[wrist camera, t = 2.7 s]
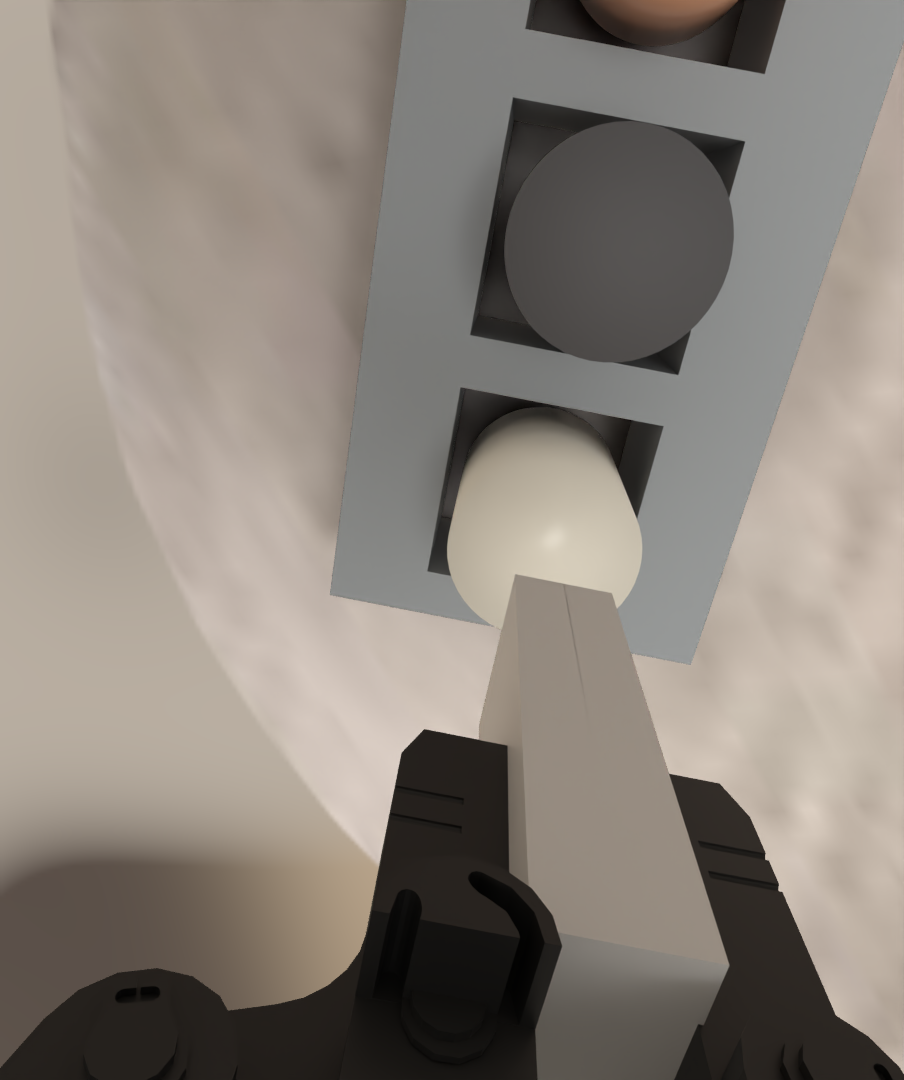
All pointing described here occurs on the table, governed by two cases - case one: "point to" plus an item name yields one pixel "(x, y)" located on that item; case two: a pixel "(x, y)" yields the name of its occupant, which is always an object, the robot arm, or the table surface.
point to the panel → (560, 378)
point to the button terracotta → (656, 18)
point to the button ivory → (540, 512)
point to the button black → (619, 241)
